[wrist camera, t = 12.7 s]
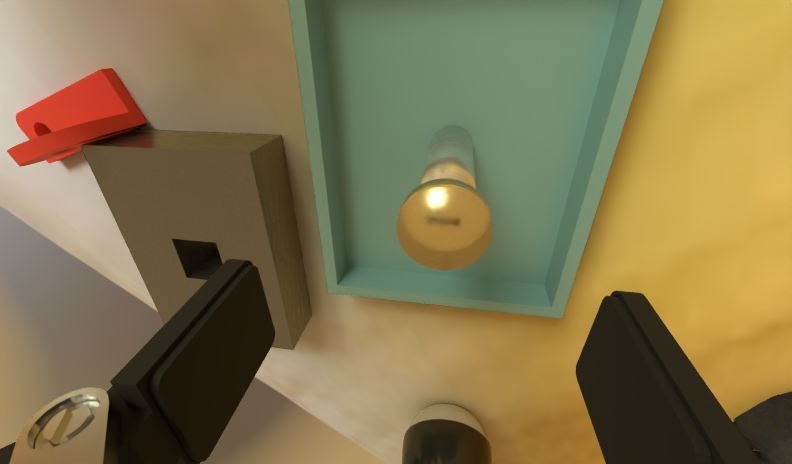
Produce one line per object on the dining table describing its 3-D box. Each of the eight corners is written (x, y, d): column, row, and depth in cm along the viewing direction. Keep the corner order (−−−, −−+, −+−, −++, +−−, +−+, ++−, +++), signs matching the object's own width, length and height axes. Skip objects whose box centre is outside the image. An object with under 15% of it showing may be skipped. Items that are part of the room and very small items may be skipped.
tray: (305, -73, 21) (275, -94, 18) (658, -92, 18) (702, -121, 15) (341, 267, 34) (327, 293, 31) (551, 287, 31) (562, 318, 28)
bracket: (113, 68, 28) (2, 79, 21) (148, 122, 30) (57, 148, 23) (24, 113, 32) (-94, 135, 25) (61, 159, 34) (-40, 191, 27)
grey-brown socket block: (133, 129, 31) (79, 144, 26) (281, 135, 28) (249, 153, 24) (199, 301, 41) (168, 332, 36) (312, 314, 38) (293, 349, 34)
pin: (425, 116, 25) (396, 184, 14) (482, 118, 24) (499, 190, 13) (423, 169, 27) (396, 265, 16) (475, 172, 26) (485, 274, 15)
